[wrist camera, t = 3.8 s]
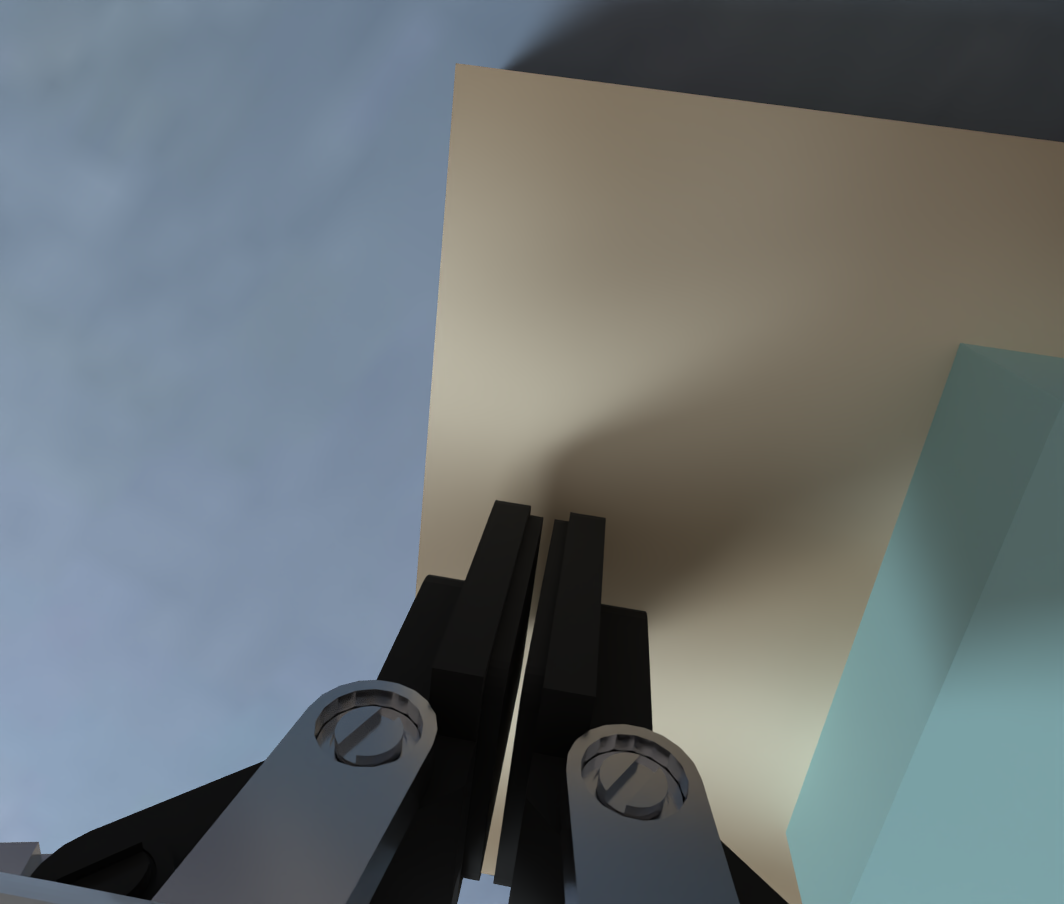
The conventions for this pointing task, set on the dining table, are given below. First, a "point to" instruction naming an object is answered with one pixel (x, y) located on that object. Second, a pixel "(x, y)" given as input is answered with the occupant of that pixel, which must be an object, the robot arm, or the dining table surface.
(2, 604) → the dining table surface
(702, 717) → the beige brown rectangular slab
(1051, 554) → the tile
